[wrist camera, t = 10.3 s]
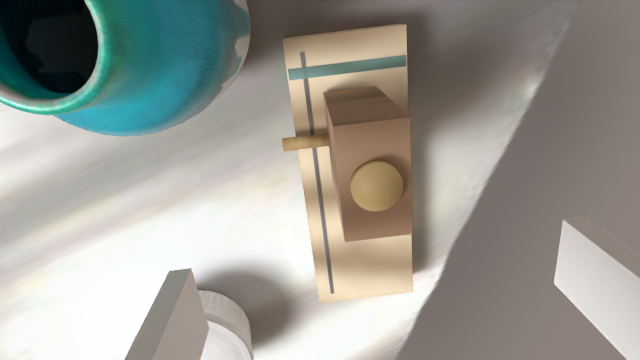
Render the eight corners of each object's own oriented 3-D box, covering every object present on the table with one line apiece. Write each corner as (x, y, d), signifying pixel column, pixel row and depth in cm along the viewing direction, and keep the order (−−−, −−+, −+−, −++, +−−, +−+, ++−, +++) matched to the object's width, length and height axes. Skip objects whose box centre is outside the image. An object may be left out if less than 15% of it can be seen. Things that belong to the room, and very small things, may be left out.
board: (283, 38, 30) (282, 39, 28) (398, 23, 30) (406, 24, 28) (318, 286, 39) (319, 303, 37) (406, 276, 39) (413, 292, 37)
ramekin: (130, 333, 41) (107, 376, 36) (183, 260, 38) (165, 296, 33) (222, 376, 44) (212, 421, 39) (278, 312, 41) (275, 352, 36)
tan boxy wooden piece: (276, 98, 29) (264, 138, 19) (375, 85, 29) (413, 119, 19) (290, 182, 32) (285, 255, 22) (380, 171, 32) (415, 239, 22)
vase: (283, -6, 29) (256, -43, 11) (225, 116, 32) (133, 234, 15) (146, -90, 27) (-158, -302, 9) (98, 51, 30) (-192, 99, 12)
